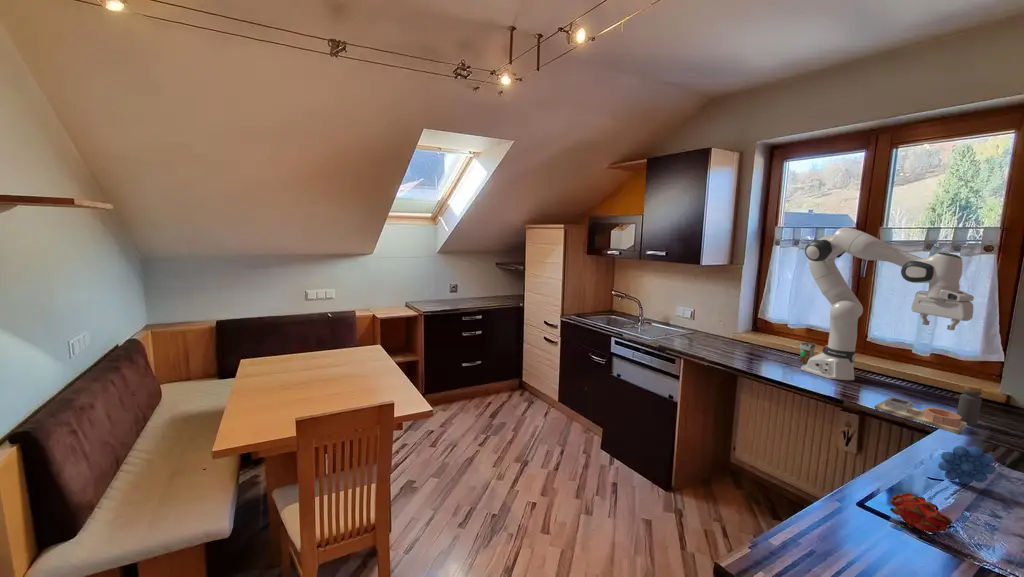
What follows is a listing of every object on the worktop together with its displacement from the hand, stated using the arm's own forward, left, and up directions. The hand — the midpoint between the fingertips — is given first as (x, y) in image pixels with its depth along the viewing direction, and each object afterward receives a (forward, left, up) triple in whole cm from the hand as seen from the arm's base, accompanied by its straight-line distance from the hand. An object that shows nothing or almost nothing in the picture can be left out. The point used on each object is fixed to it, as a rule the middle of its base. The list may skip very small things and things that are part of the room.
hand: (937, 327), depth 180 cm
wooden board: (+2, -13, -35) cm, 37 cm away
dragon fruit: (+22, -101, -35) cm, 109 cm away
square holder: (-5, -13, -34) cm, 36 cm away
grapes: (+23, -63, -35) cm, 76 cm away
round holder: (+8, -13, -34) cm, 37 cm away
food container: (-57, +29, -35) cm, 73 cm away
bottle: (+13, -2, -35) cm, 38 cm away
